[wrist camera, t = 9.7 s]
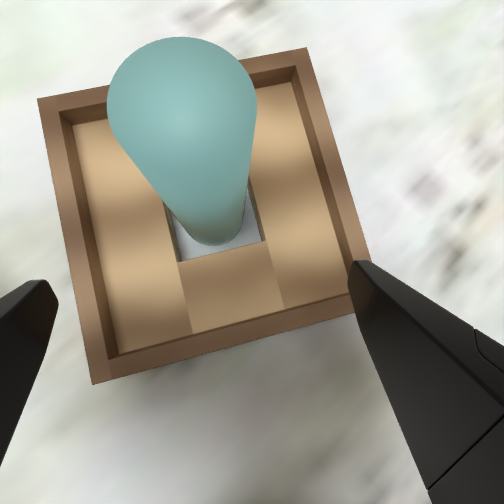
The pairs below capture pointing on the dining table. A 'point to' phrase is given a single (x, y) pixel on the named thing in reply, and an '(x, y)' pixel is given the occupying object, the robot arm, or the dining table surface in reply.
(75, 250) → the bore box
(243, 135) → the peg
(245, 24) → the dining table surface
